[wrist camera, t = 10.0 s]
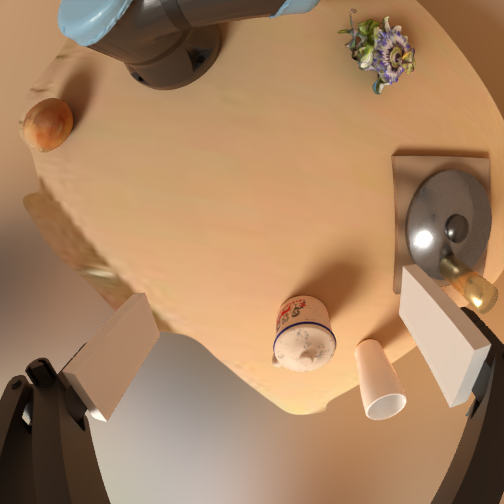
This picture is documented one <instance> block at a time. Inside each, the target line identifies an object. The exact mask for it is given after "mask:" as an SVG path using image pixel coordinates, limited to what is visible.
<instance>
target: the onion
mask: <svg viewBox="0 0 504 504" xmlns="http://www.w3.org/2000/svg"><path fill="white" fill-rule="evenodd" d="M72 127H73V116H72V112H71V109H70V107H69V106H68V104H67V103H66V102H64V101H63V100H59V99H56V98H49V99H46V100H43V101H41V102H39V103H38V104H37V105H35V106H34V107H33V108H32V109H31V110H30V111H29V112H28V113H27V115H26V117H25V120H24V124H23V130H24V136H25V139H26V141H27V142H28V144H29V145H30V146H31V147H32V148H34V149H36V150H38V151H40V152H49V151H51V150H53V149H55V148H57V147H59V146H60V145H61V144H62V143H63V142H64V141H65V140H66V139H67V137H68V136H69V134H70V132H71V129H72Z"/></svg>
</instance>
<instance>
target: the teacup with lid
mask: <svg viewBox="0 0 504 504" xmlns="http://www.w3.org/2000/svg"><path fill="white" fill-rule="evenodd" d="M273 349H274V355H273V358H272V364H273V365H274V366H275V367H282V366H284V367H286V368H288V369H290V370H293V371H298V372H307V371H313V370H316V369H318V368H320V367H322V366H324V365H325V364H327V363H328V362H329V361H330V359H331V358H332V357H333V355H334V352H335V349H336V339H335V336H334V334H333V333H332V329H331V324H330V320H329V316H328V312H327V309H326V307H325V305H324V304H323V303H322V302H321V301H320V300H318V299H316V298H314V297H311V296H296V297H293V298H291V299H289V300H287V301H286V302H285V303H284V304H283V305H282V306H281V307H280V309H279V311H278V314H277V325H276V339H275V341H274V346H273Z"/></svg>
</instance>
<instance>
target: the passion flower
mask: <svg viewBox="0 0 504 504" xmlns="http://www.w3.org/2000/svg"><path fill="white" fill-rule="evenodd" d="M351 11H352V12H353V13H354V14H355V13H356V10H355V9H351V10H350V12H349V14H350V21H351V26H352V29H351V30H341V31H339V32H337V33H349V34H351V35H352V36H353V40H352V41H351V42H350V43H349V44H347V45H346V44H345V46H347V47H349V48H350V50H351V51H352V55H351V56H352V58H353V59H354V60H357V61H358V64H359V69H361V70H363V71H368V70H375V71H377V72H378V73H379V74H378V80H377V81H376V82H375V83H374V84H373V91H374V92H375V94H381V91H382V89H383V87H384V85H391V84H392V83H393V82H397V81H398V77H400V75H401V73H402V72H403V70H404V71H405V72H406V73H407V74H408V75H409V73H410V71H411V72H413V71H414V67H415V65H416V64H415V58H414V53H415V49H414V48H411V50H410V46H409V44H408V43H409V42H408V41H407V40H408V37H407V36H402V35H400V33H401V26H394V27H392V28H390V26H389V23H388V18H389V17H388V16H386V17H385V18H384V19H383V21H382V25H383V27H382V28H379V26H380V24H381V23H379V22H375V21H373V20H372V19H370V20H367V21H365V22H361V23H358V31H356V30H354V28H353V22H352V16H351ZM356 36H359V37H360V38H361V42H360V43H359V44H358V45H356V41H355V37H356ZM373 40H374V41H375V43H374V41H373ZM364 41H366V42H365V43H364V46H363V45H362V43H363V42H364ZM359 48H360V49H359ZM358 49H359V50H358ZM357 50H358V55H356V56H354V55H355V53H354V51H357ZM409 50H410V51H409ZM362 52H363V54H362ZM359 57H360V58H359Z"/></svg>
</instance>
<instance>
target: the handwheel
mask: <svg viewBox="0 0 504 504" xmlns="http://www.w3.org/2000/svg"><path fill="white" fill-rule="evenodd" d="M491 222H492V216H491V207H490V202H489V199H488V196H487V194H486V192H485V190H484V188H483V186H482V185H481V184H480V182H479V181H478V180H477V179H476V178H475V177H473V176H472V175H471V174H469V173H467V172H464V171H460V170H453V169H447V170H442V171H439V172H436V173H434V174H433V175H431V176H430V177H428V178H427V179H426V180H425V181H424V182H423V183H422V184H421V185H420V187H419V188H418V189H417V191H416V192H415V194H414V196H413V198H412V200H411V203H410V205H409V208H408V212H407V217H406V224H405V237H406V243H407V247H408V251H409V253H410V256H411V258H412V260H413V261H414V263H415V264H417V265H418V266H419V267H420V268H421V269H422V270H423V271H424V272H425V273H426V274H427V275H428V276H429V277H431V278H434V279H437V280H446V281H447V282H449V283H450V284H451V285H452V286H453V287H454V288H455V289H456V290H457V291H458V292H459V293H460V294H461V295H462V296H463V297H464V298H465V299H466V300H467V301H468V302H469V303H471V304H472V305H473V306H474V307H475V308H476V309H477V311H478V312H480V313H481V314H485V313H487V312H489V311H490V310H491V309H492V308H493V306H494V305H495V303H496V301H497V298H498V290H497V289H496V287H495V286H493V285H492V284H491V283H490V282H488V281H487V280H486V279H485V278H483V277H482V276H481V275H479V274H478V273H477V272H475V271H474V270H473V269H471V268H472V267H473V266H474V265H475V264H476V263H477V262H478V260H479V259H480V257H481V256H482V254H483V252H484V250H485V248H486V245H487V243H488V240H489V236H490V231H491Z"/></svg>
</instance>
